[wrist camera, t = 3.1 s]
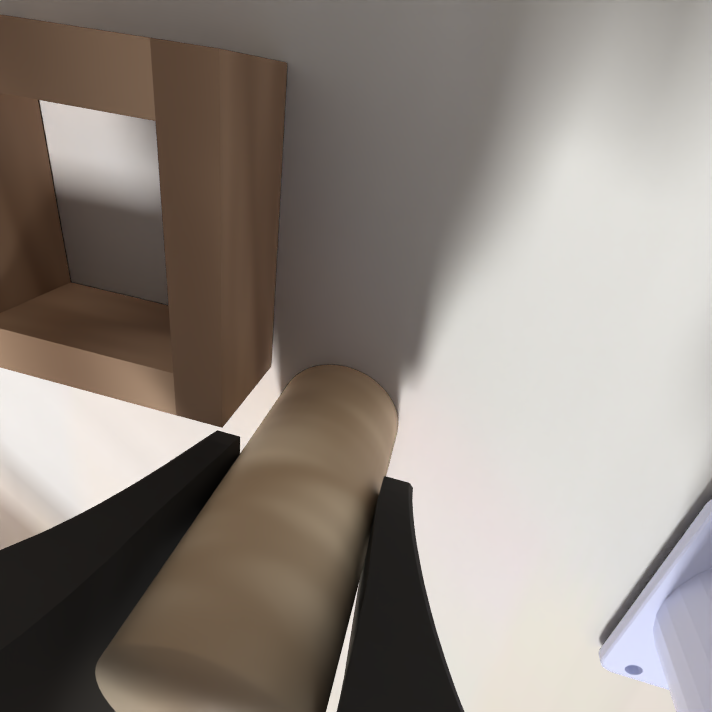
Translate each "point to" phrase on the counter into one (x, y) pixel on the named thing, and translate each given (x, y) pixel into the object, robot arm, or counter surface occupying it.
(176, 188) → the walnut holder
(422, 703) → the robot arm
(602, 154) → the counter surface
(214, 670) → the beech peg
